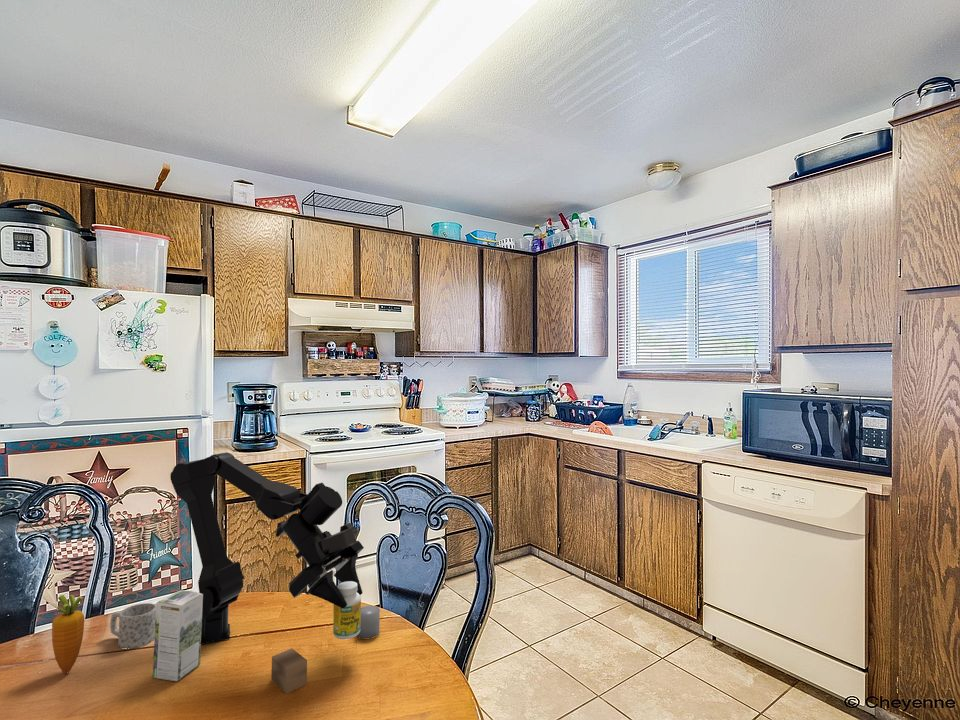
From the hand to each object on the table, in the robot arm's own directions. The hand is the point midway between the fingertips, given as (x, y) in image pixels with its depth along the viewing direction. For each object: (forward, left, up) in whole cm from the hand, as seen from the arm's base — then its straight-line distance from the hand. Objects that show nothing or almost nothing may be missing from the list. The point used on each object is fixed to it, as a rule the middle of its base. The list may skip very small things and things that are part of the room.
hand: (353, 600), depth 100 cm
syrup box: (-13, -31, -13) cm, 36 cm away
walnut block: (0, -12, -13) cm, 18 cm away
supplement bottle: (-1, -1, -7) cm, 7 cm away
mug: (-31, -41, -13) cm, 53 cm away
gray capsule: (-11, +6, -13) cm, 18 cm away
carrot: (-22, -50, -13) cm, 56 cm away
